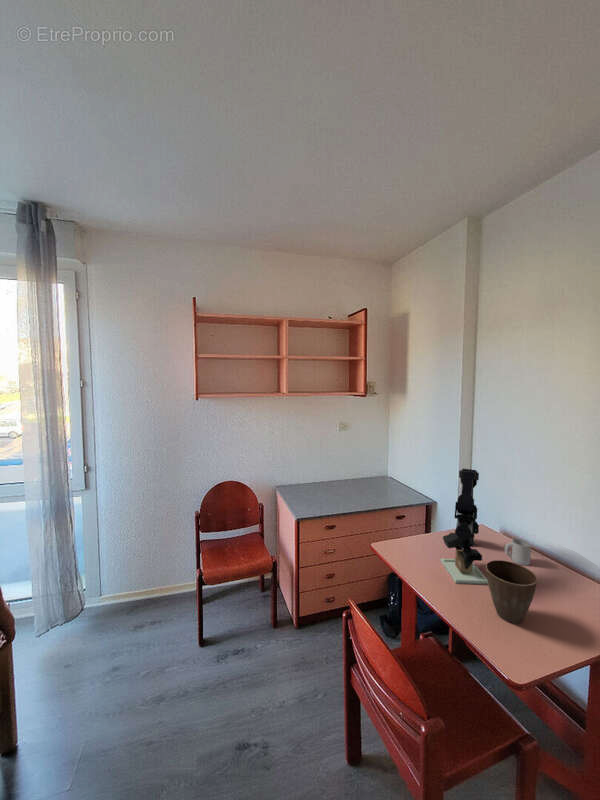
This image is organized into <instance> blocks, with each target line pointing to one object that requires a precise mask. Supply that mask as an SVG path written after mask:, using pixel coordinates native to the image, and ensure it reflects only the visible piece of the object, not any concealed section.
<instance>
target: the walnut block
mask: <svg viewBox="0 0 600 800" xmlns="http://www.w3.org/2000/svg"><path fill="white" fill-rule="evenodd" d="M460 553H463V550H456V549H455V556H454V557H455V558H454V559H455V566H456V567H457V568H458V570H459V571H460V572H472V569H473V563H474V562H473V563H472V564H471V565H470V567H469V568H468V569H465V565H464V557H463V556H462V555H461V554H460Z"/></svg>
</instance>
